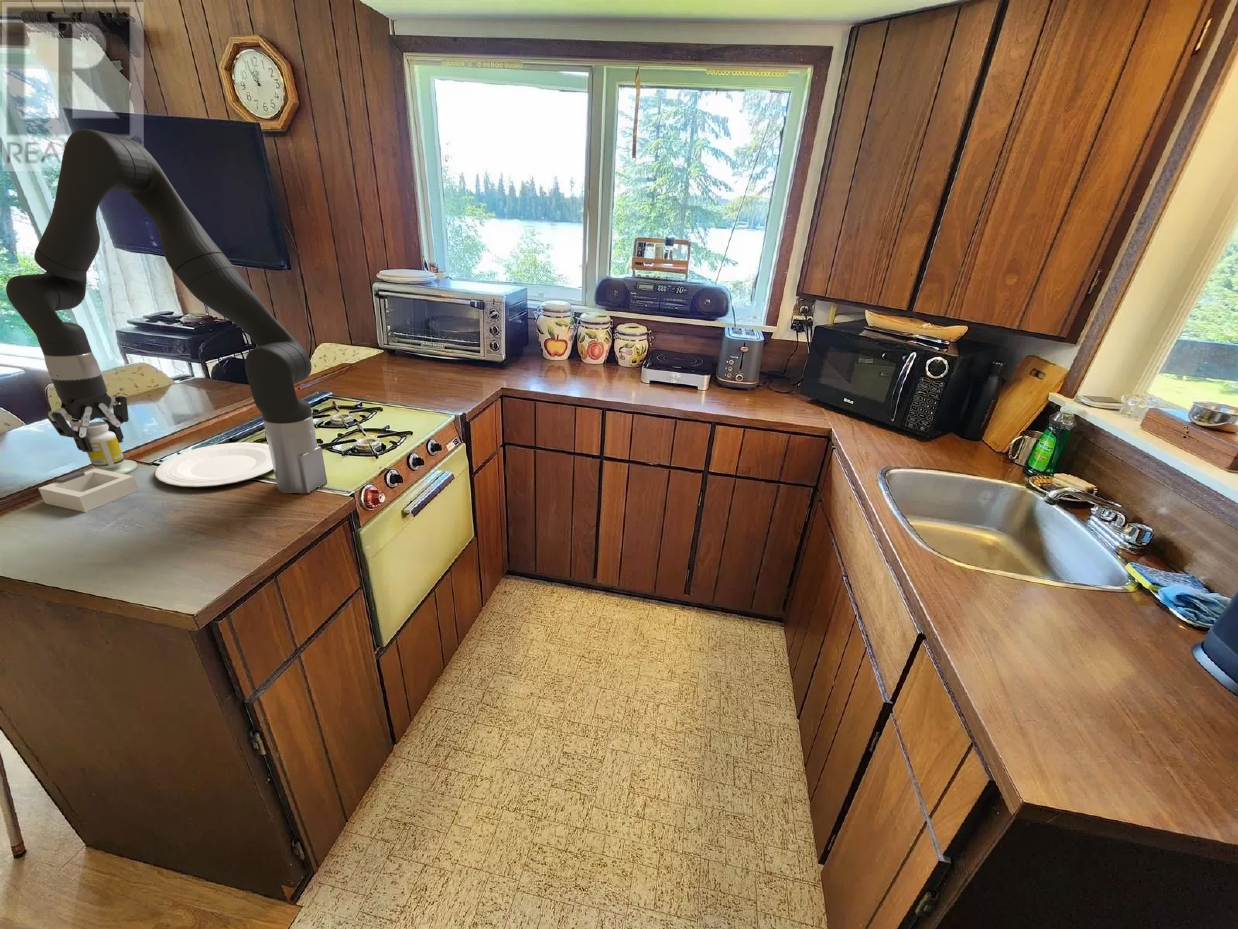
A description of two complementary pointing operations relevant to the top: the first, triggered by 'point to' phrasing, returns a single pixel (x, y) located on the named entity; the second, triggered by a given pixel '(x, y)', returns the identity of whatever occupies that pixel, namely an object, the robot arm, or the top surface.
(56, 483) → the shallow beige tray
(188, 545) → the top surface
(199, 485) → the plate
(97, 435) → the supplement bottle
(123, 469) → the coaster
